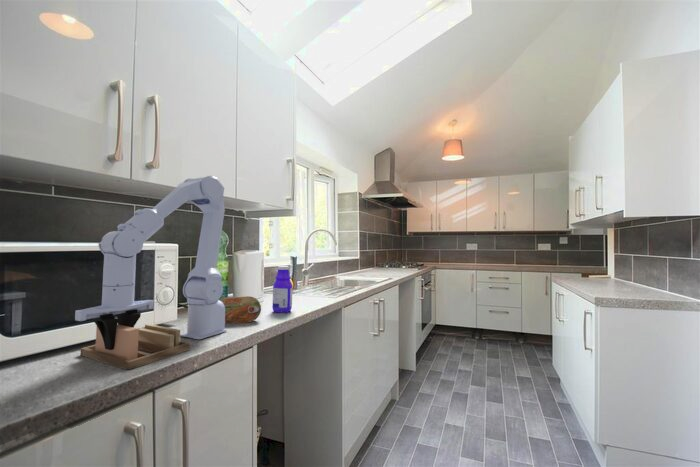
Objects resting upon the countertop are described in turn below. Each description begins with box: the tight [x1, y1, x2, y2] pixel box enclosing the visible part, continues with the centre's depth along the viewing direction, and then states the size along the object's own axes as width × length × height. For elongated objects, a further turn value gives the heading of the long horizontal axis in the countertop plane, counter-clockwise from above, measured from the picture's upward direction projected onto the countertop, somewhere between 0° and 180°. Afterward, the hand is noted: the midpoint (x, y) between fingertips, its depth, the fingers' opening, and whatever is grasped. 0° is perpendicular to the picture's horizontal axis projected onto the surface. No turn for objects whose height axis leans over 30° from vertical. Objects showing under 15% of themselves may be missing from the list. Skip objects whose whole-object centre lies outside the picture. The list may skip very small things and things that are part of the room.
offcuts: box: [138, 323, 181, 348], centre depth 75 cm, size 3×14×4 cm, turn 65°
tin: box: [218, 295, 262, 325], centre depth 100 cm, size 15×3×8 cm, turn 106°
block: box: [95, 324, 139, 360], centre depth 67 cm, size 2×12×7 cm, turn 65°
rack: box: [79, 340, 191, 371], centre depth 71 cm, size 14×18×2 cm
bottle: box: [272, 265, 293, 314], centre depth 117 cm, size 7×6×17 cm
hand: (116, 347), depth 67 cm, fingers closed on block, 2 cm apart
